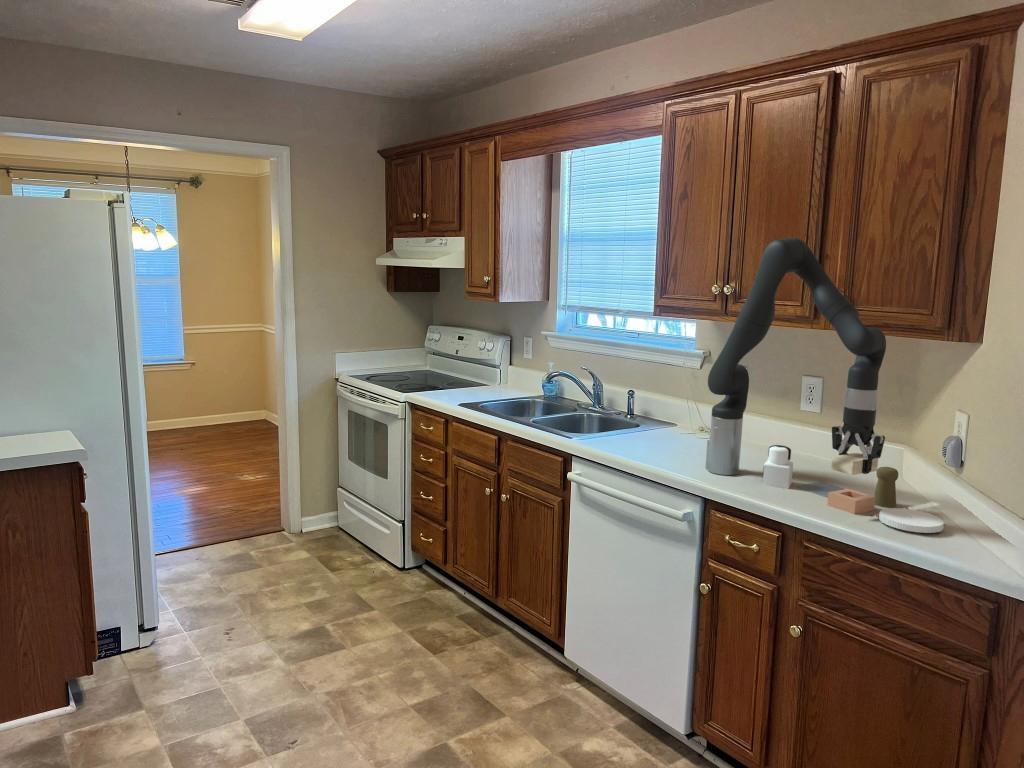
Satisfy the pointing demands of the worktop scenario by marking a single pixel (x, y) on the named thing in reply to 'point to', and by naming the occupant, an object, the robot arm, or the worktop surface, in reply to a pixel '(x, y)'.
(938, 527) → the plastic lid
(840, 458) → the cream wooden block
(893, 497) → the cork
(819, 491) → the mat
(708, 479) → the worktop surface
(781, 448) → the medicine bottle
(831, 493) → the pink hollow block
